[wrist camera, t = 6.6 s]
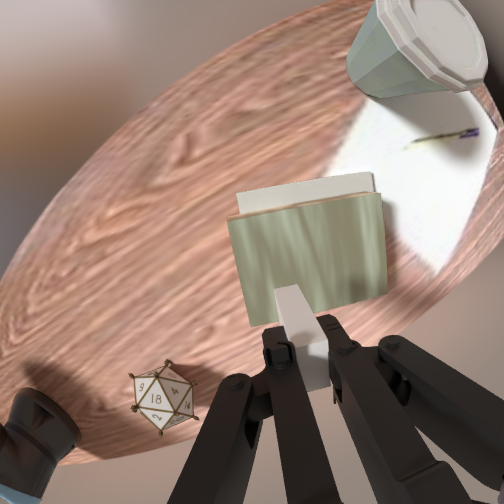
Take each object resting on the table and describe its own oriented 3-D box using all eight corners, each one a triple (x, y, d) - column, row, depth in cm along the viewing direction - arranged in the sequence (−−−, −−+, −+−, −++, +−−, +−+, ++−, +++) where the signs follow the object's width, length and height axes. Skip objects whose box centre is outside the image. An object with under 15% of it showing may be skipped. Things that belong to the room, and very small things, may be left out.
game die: (182, 352, 35) (217, 374, 27) (183, 407, 34) (217, 440, 26) (117, 354, 30) (132, 381, 22) (122, 413, 29) (141, 453, 21)
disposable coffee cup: (415, 66, 23) (496, 26, 9) (398, 136, 26) (498, 118, 11) (339, 22, 22) (395, -52, 7) (313, 91, 24) (377, 20, 10)
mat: (262, 321, 30) (262, 324, 29) (236, 193, 27) (236, 193, 26) (379, 293, 30) (381, 295, 29) (368, 171, 26) (371, 171, 26)
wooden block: (250, 327, 25) (387, 293, 25) (226, 221, 23) (380, 193, 23) (249, 310, 29) (372, 281, 29) (228, 216, 26) (364, 191, 26)
